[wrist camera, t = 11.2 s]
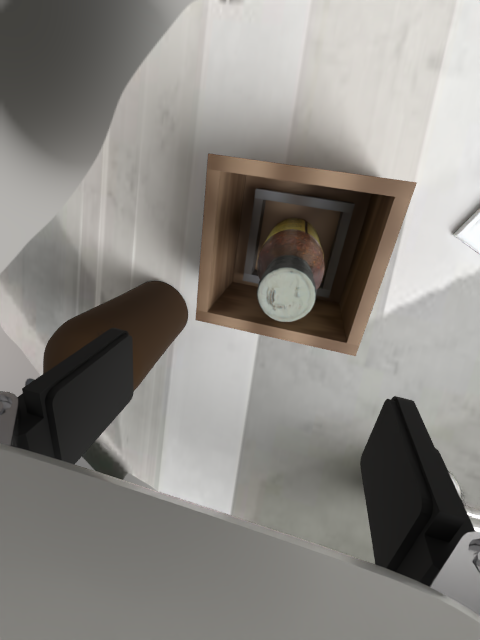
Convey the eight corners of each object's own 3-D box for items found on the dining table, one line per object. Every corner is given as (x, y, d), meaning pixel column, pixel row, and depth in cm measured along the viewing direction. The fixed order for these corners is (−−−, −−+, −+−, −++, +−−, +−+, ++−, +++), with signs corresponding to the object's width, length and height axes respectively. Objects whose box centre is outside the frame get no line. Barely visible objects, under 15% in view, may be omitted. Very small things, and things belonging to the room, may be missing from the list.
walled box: (385, 182, 34) (416, 182, 24) (345, 311, 41) (355, 355, 30) (239, 162, 37) (208, 153, 26) (225, 286, 44) (195, 319, 33)
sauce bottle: (260, 251, 40) (217, 306, 22) (285, 206, 37) (258, 227, 19) (304, 276, 40) (296, 351, 22) (332, 233, 37) (348, 279, 19)
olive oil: (129, 270, 46) (-45, 350, 24) (194, 284, 45) (74, 385, 22) (130, 331, 51) (-16, 446, 29) (189, 346, 49) (85, 480, 27)
